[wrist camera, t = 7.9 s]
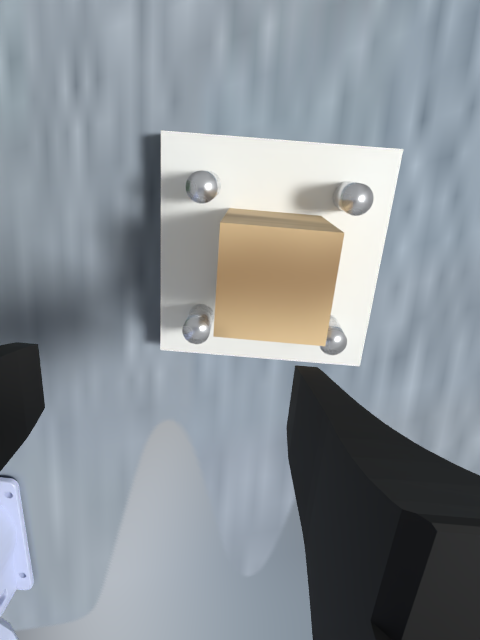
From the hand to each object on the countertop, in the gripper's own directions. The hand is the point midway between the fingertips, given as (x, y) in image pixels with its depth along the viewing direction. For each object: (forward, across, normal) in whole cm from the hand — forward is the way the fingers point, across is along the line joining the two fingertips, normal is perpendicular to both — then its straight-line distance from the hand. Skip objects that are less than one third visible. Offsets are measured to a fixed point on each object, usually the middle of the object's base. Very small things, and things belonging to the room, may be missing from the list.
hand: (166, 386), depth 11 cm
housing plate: (+10, -3, -2) cm, 10 cm away
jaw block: (+8, -3, -2) cm, 9 cm away
